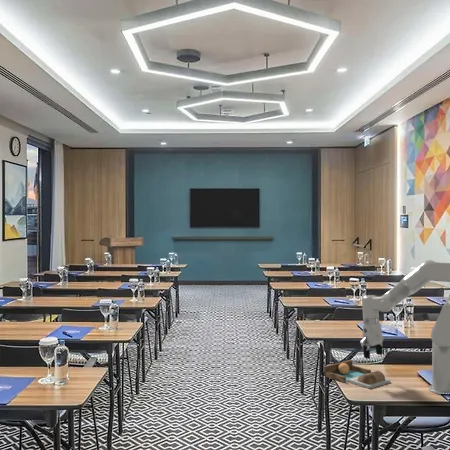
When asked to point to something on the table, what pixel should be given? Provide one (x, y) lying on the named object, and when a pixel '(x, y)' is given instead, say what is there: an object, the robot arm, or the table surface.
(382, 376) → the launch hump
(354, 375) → the mat
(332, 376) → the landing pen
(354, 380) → the grey base plate
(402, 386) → the table surface
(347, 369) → the ball
